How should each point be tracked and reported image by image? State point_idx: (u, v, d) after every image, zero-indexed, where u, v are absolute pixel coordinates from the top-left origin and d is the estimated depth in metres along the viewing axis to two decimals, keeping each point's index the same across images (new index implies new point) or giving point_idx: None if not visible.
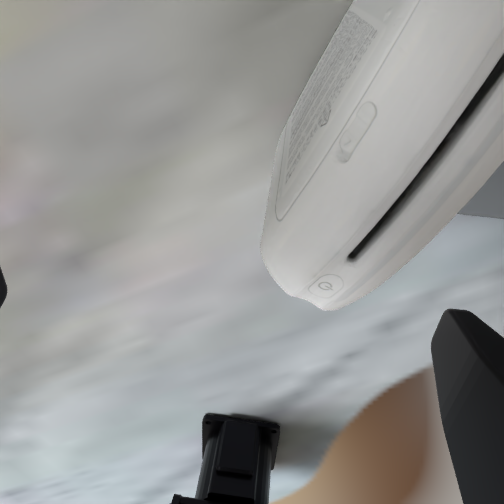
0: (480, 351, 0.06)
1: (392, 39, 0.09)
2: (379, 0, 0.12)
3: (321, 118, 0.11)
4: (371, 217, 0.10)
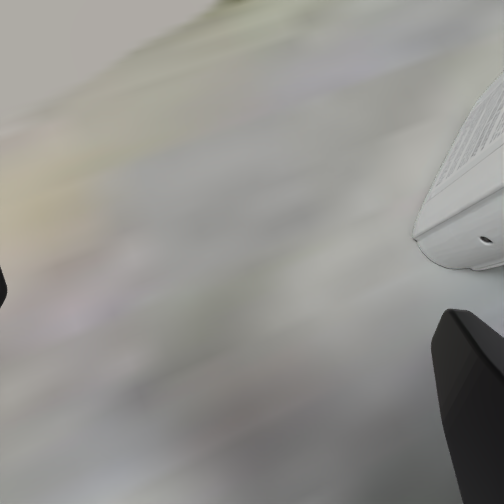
0: (480, 351, 0.06)
1: None
2: None
3: None
4: None
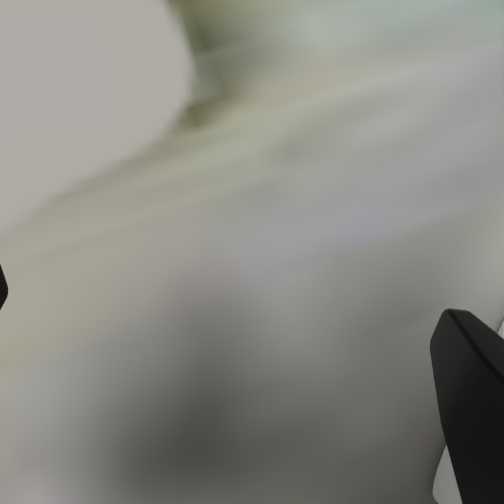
0: (479, 351, 0.06)
1: None
2: None
3: None
4: None
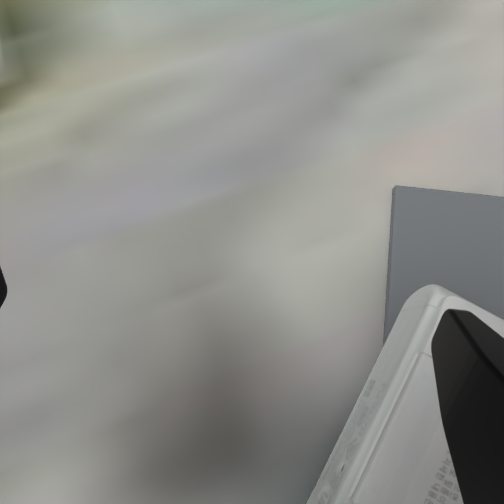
0: (480, 351, 0.06)
1: None
2: None
3: None
4: None
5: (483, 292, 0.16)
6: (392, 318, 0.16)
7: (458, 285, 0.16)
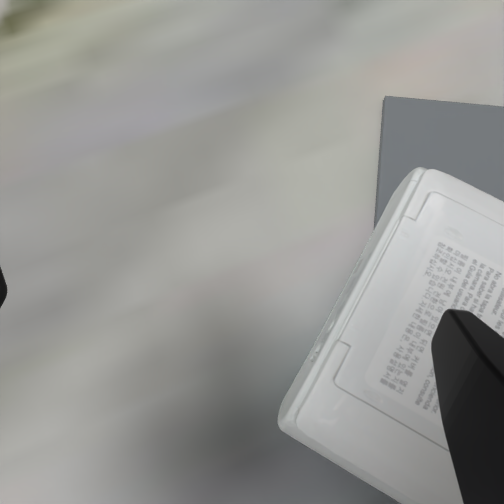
0: (480, 351, 0.06)
1: None
2: None
3: None
4: None
5: None
6: (381, 215, 0.17)
7: None
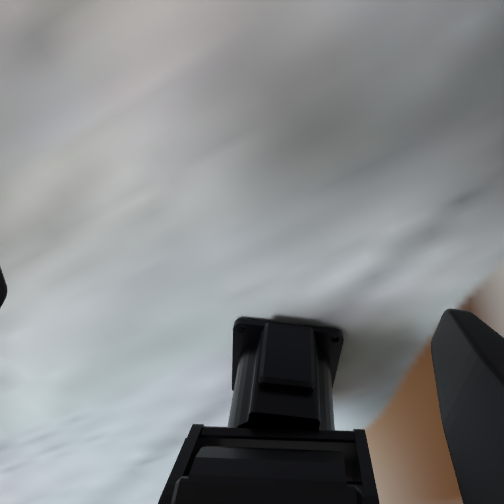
0: (480, 351, 0.06)
1: None
2: None
3: None
4: None
5: None
6: None
7: None
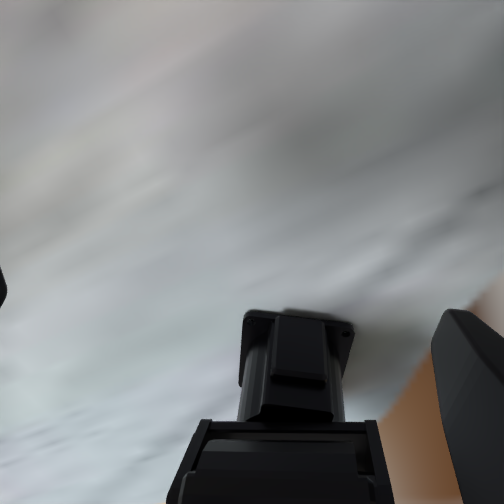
0: (480, 351, 0.06)
1: None
2: None
3: None
4: None
5: None
6: None
7: None
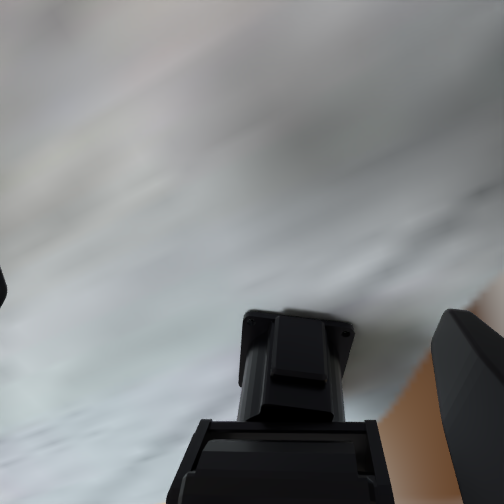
0: (480, 351, 0.06)
1: None
2: None
3: None
4: None
5: None
6: None
7: None
